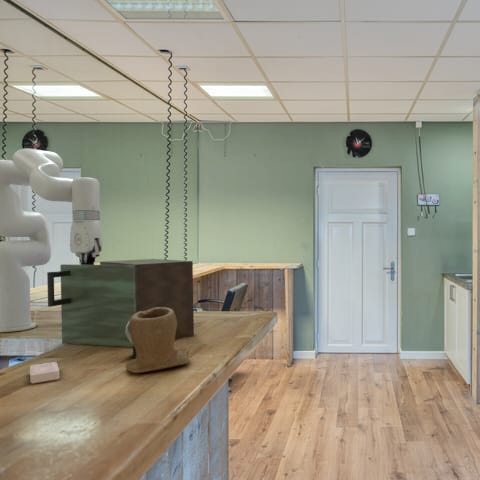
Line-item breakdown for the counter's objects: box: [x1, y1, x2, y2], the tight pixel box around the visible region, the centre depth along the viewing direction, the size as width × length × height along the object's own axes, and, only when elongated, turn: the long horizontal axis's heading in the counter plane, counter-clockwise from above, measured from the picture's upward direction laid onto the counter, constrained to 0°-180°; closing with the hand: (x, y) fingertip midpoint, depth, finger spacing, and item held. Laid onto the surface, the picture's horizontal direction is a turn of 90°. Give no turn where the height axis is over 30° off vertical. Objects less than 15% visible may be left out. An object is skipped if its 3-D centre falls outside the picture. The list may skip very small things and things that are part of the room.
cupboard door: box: [46, 263, 136, 348], centre depth 135 cm, size 8×26×24 cm, turn 75°
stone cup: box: [124, 307, 190, 374], centre depth 113 cm, size 15×12×15 cm
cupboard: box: [99, 258, 195, 340], centre depth 151 cm, size 18×26×24 cm
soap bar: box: [29, 361, 60, 385], centre depth 107 cm, size 5×9×2 cm, turn 37°
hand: (87, 275), depth 145 cm, fingers closed
